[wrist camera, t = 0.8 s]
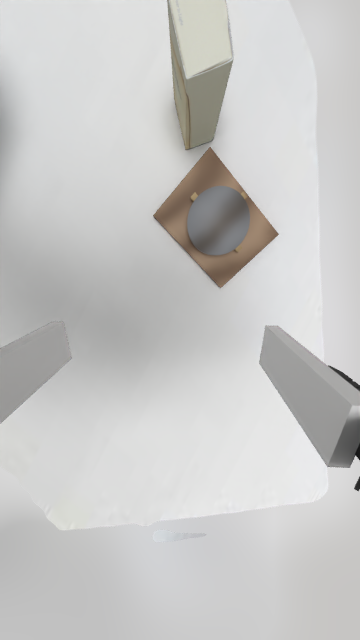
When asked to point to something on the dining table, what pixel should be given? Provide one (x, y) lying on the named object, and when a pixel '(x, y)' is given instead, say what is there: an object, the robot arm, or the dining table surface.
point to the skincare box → (199, 65)
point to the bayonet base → (183, 204)
